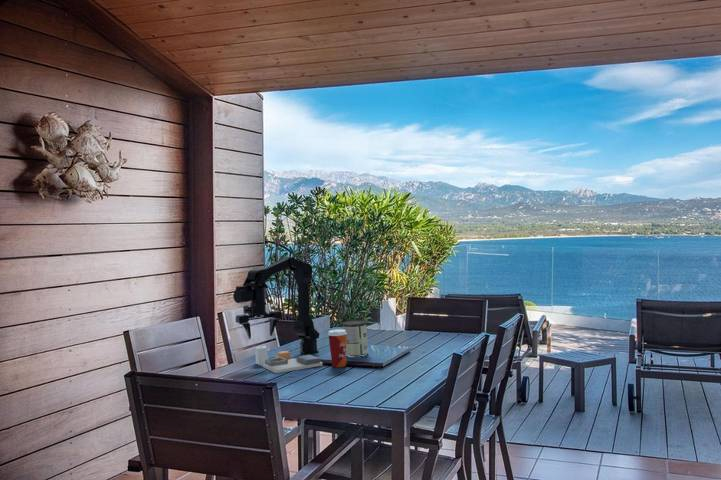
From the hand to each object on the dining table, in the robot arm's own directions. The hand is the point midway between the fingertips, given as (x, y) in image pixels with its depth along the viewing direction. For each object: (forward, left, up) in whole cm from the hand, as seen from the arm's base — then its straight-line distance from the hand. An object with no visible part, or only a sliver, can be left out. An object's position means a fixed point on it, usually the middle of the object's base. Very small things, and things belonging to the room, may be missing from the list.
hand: (260, 337), depth 281 cm
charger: (0, 0, -11) cm, 11 cm away
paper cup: (-23, +26, -11) cm, 37 cm away
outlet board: (-8, +13, -11) cm, 19 cm away
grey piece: (-14, +16, -10) cm, 24 cm away
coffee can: (-38, +12, -11) cm, 41 cm away
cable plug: (-9, -2, -11) cm, 14 cm away
